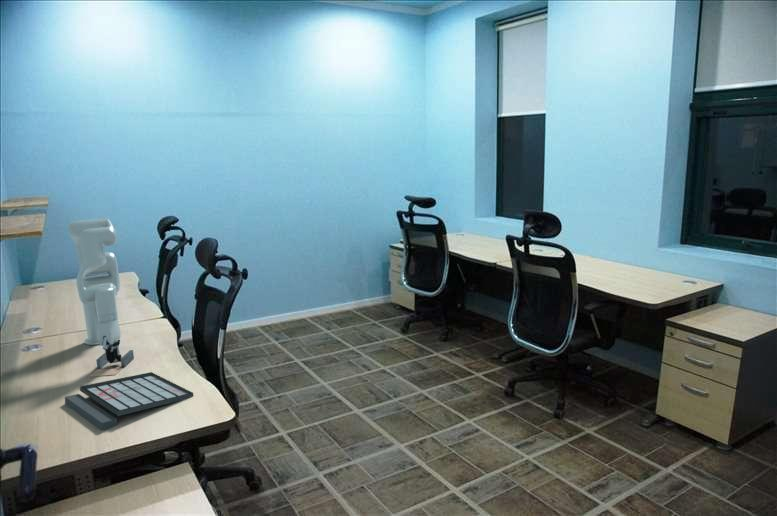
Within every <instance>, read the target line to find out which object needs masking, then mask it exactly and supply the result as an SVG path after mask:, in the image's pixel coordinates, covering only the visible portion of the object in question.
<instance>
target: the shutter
mask: <svg viewBox="0 0 777 516" xmlns="http://www.w3.org/2000/svg"><path fill="white" fill-rule="evenodd" d="M79 391H80V392H81V393H83V394H84V395H86V397H87V396H88V397H89V398H90V399H92V400H93V401H95V402H96V403H98V404H99V405H101V406H102V407H103V408H105V409H107V410H108V411H110V412H112V413H113V414H114V415H116V417H117V416H118V417H120V416H124V415H127V414H132V413H136V412H140V411H143V410H144V411H145V410H149V409H152V408H155V407H160V406H165V405H168V404H172V403H176V402H179V401H184V400H187V399H188V398H191V397H194V392H192V391H190V390H188V389H187V388H185V387H183V386H180V385H178V384H176V383H175V382H172V381H170V380H169V379H166V378H164V377H162V376H159V375H158V374H156V373H154V372H151V371H150V372H146V373H140V374H135V375H130V376H126V377H120V378H116V379H115V378H114V379H111V380H110V379H109V380H105V381H100V382H95V383H90V384H86V385H85V384H84V385H80V386H79ZM86 397H84V396H83V395H81V394H79V393H76V394H72V395H66V396H64V405H66V406H67V407H69V408H70V409H72V410H73V411H74V412H75V413H77V414H78V415H80V416H81V417H82V418H84V419H85V420H86V421H88V422H89V423H90V424H91V425H93V426H94V427H96V428H97V429H99V430H100V431H101V432H103V431H106V430H109V429H111V428H113V427H116V426H117V423H118V421H117V418H116V417H114V416H113V415H111V414H109V413H108V412H107V411H105V410H104V409H102V408H101V407H99V406H98V405H96V404H95V403H94V402H92V401H90V400H89V399H87V398H86Z"/></svg>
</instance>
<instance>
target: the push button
mask: <svg viewBox="0 0 777 516" xmlns="http://www.w3.org/2000/svg"><path fill="white" fill-rule="evenodd" d="M120 342H121V339H119V340H118V339H116V341H115V343H114V344H113V351H114V353H115V360H114V361H108V363H109V364H114V363H121V358H122V354H121V353H120V344H121V343H120ZM107 344H109V343H107ZM118 345H119V347H118ZM116 346H117V348H116ZM108 347H110V346H108ZM117 352H118V354H117ZM105 361H106V360H105ZM105 363H107V362H105ZM108 363H107V364H108Z"/></svg>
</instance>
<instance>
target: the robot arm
mask: <svg viewBox="0 0 777 516" xmlns="http://www.w3.org/2000/svg"><path fill="white" fill-rule="evenodd" d="M67 230H68V231H67V232H68V234H69V236H70V238H71V240H72V241H73V243H74V245H75V248H76V255H77V261H78V267H79V270H78V272H77V273H78V274H77V275H76V288H77V293H78V298H79V301H80V302H81V303H82V308H83V313H84V322H85V328H86V333H87V334H86V335H87V338H86V339H84V344H85V345H88V346H97V345H99V346H101V347H102V349H103V350H104V353H105V352H106V357H107V361H114V360H115V353H114V351H113V344H114V343H115V341H116V339H118V340H121V331H120V330H121V329H120V324H119V321H118V320H119V312H118V305H117V298H116V297H117V295H118V292H120V290H121V281H120V273H119V271H120V270H119V265H118V259H117V256H116V255H115V254H114V253H113V252H111V251H105V248H104V247H110V246H116V245H117V242H118V234H117V232H116V229H115V227H114V225H113V222H112V221H111V220H110V219H108V218H95V219H92V218H91V219H80V220H73V221H71V222H69V223H68V224H67ZM104 273H107V274H104ZM96 274H101V275H96ZM87 275H89V276H87ZM90 275H93V276H90ZM107 343H109V344H107ZM108 346H110V347H108ZM118 347H119V348H120V344H119V345H118ZM116 348H117V346H116ZM117 354H118V352H117Z"/></svg>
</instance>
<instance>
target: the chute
mask: <svg viewBox="0 0 777 516" xmlns="http://www.w3.org/2000/svg"><path fill="white" fill-rule="evenodd" d="M134 359H135V355H134V349H130V350H129V351H127V352H126V353H125V354H124V355H122V356H121V362H120V364H121V368H122V369H123V368H126V367H127V366H128V365H129V364H130V363H131V362H132V361H133V360H134ZM105 360H106V361H105ZM95 361H96V368H97V369H96V370H99V369H102V368H103V367H104V366H105V365H107V364H108V363H109V362H108V361H107V357H106V352H105V351H104V353H103V354H102V355H101V356H99V357H98V358H97V359H96V360H95ZM105 362H107V363H105Z"/></svg>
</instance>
